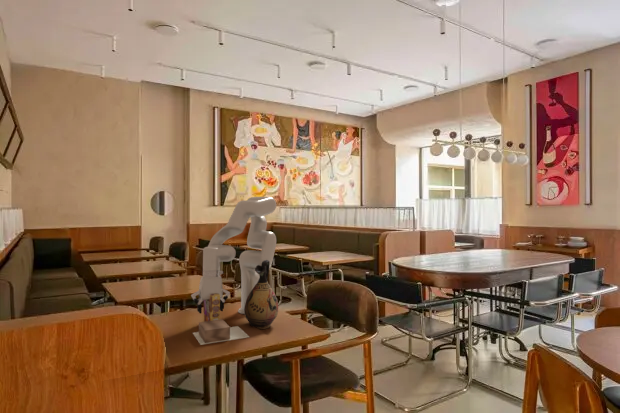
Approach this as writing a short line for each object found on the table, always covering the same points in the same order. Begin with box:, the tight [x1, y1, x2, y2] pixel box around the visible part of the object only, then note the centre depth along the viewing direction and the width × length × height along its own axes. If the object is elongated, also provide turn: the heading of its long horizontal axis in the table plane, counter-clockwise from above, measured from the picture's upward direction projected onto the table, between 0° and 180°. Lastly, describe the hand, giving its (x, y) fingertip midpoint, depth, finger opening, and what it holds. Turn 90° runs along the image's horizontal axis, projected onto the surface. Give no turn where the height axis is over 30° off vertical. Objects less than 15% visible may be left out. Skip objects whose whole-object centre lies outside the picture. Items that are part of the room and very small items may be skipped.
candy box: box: [202, 294, 221, 322], centre depth 181 cm, size 9×4×15 cm, turn 39°
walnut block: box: [198, 318, 231, 344], centre depth 164 cm, size 10×12×5 cm
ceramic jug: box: [244, 260, 279, 330], centre depth 182 cm, size 17×15×30 cm
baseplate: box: [192, 325, 250, 346], centre depth 167 cm, size 20×16×1 cm
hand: (210, 311), depth 180 cm, fingers open, 9 cm apart
